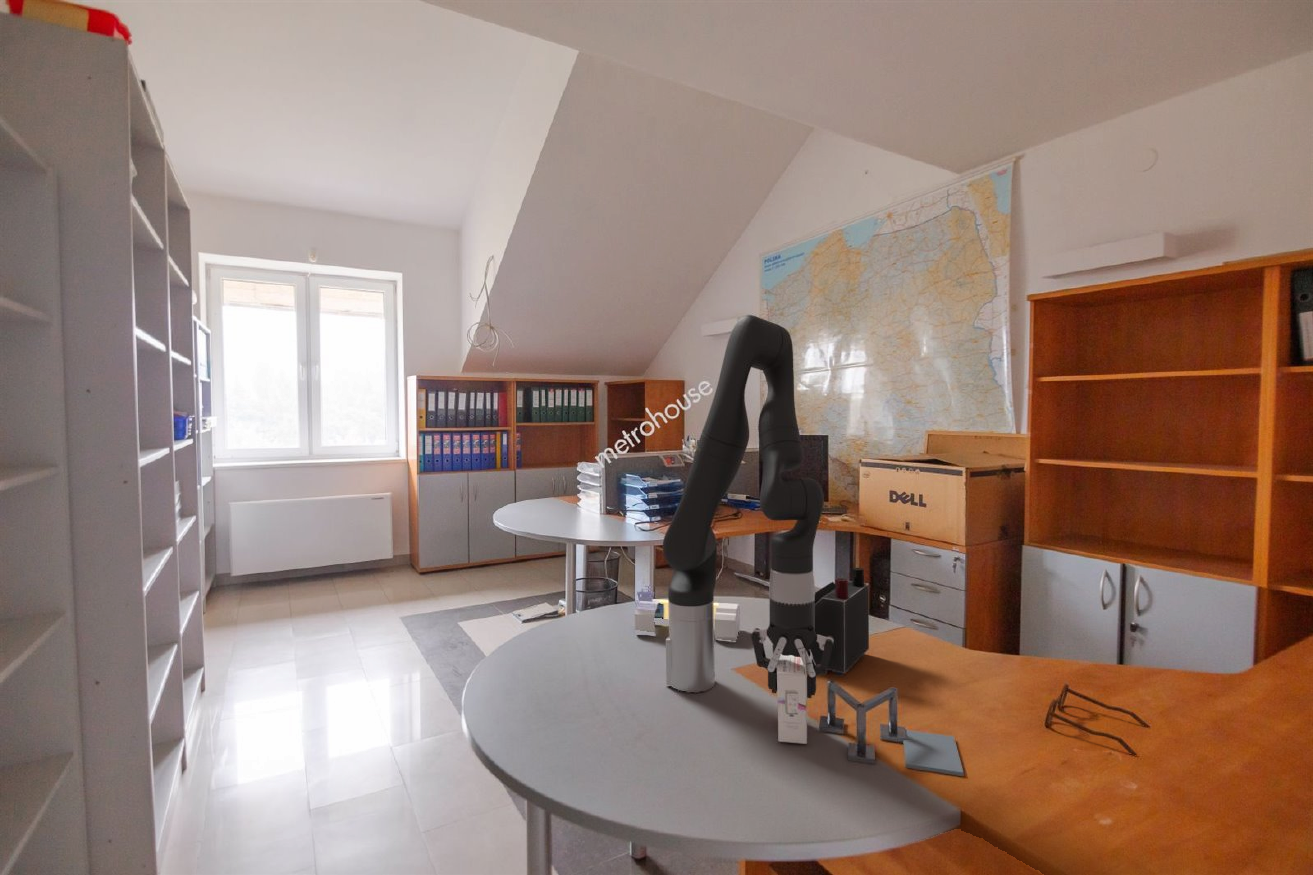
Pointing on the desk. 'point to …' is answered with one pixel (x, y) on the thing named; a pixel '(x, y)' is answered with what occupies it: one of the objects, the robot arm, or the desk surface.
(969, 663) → the desk surface
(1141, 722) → the glasses
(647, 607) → the diorama
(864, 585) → the voltmeter
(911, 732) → the pad
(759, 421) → the robot arm
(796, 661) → the ink cartridge box
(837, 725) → the grey metal legged frame
